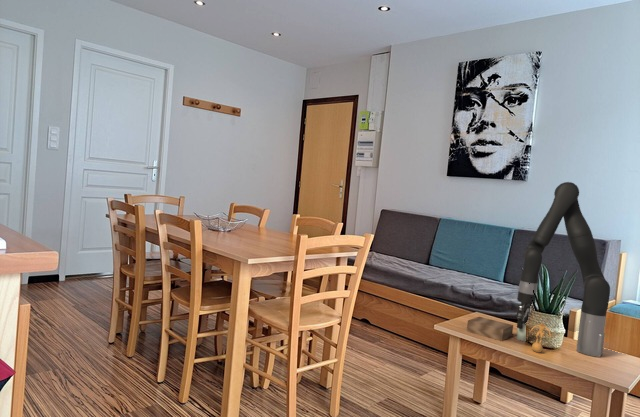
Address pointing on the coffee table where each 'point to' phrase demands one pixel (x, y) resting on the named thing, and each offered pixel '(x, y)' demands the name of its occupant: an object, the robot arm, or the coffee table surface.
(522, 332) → the sage canister
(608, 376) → the coffee table surface
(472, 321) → the walnut box
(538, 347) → the figurine
